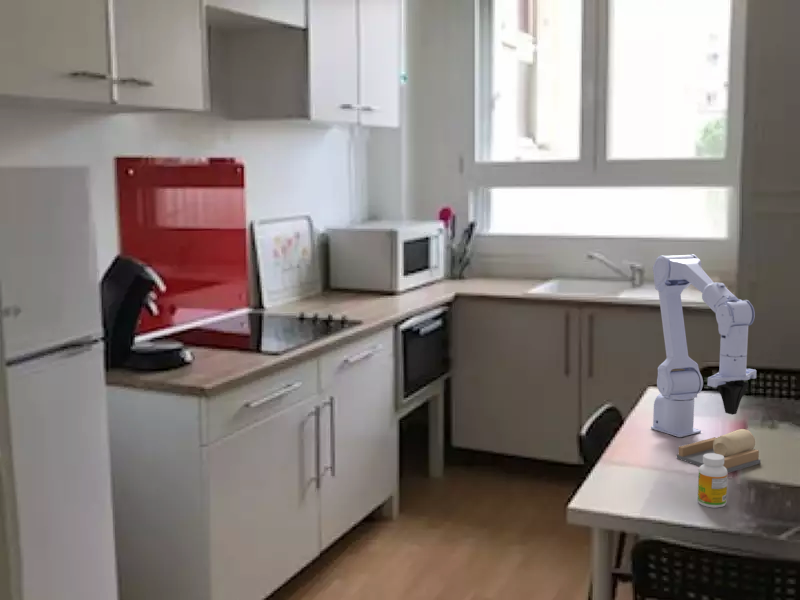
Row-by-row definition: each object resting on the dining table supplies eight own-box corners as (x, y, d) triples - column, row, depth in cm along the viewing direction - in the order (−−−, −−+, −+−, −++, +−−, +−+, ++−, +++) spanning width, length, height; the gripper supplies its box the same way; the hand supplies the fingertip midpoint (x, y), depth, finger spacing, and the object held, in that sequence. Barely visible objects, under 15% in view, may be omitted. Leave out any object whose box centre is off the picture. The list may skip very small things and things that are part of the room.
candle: (759, 449, 209) (735, 459, 202) (738, 454, 213) (714, 464, 207) (750, 426, 210) (725, 435, 204) (730, 431, 214) (705, 440, 208)
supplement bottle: (693, 498, 186) (694, 452, 184) (719, 497, 186) (721, 451, 185) (704, 508, 181) (706, 461, 179) (730, 507, 181) (732, 460, 180)
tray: (676, 458, 211) (676, 446, 210) (712, 448, 217) (712, 436, 217) (723, 474, 200) (724, 461, 199) (760, 463, 206) (760, 451, 206)
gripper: (727, 361, 200) (724, 422, 202) (769, 353, 207) (766, 412, 209) (700, 356, 205) (698, 415, 208) (742, 348, 213) (739, 405, 215)
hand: (730, 413), depth 209 cm, fingers closed
